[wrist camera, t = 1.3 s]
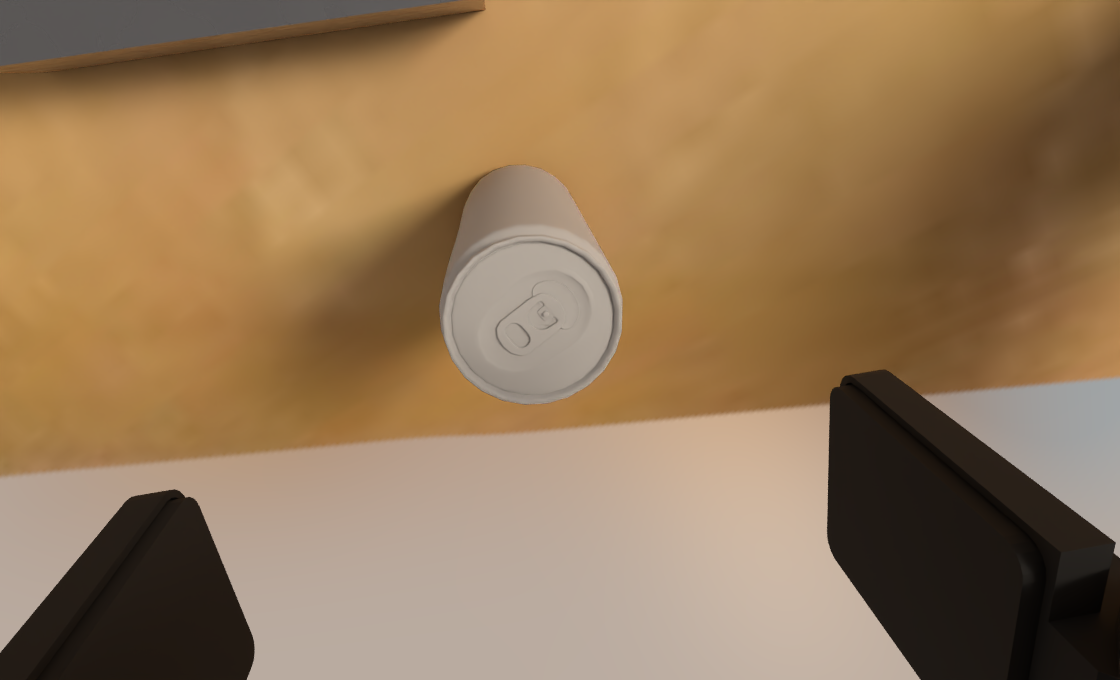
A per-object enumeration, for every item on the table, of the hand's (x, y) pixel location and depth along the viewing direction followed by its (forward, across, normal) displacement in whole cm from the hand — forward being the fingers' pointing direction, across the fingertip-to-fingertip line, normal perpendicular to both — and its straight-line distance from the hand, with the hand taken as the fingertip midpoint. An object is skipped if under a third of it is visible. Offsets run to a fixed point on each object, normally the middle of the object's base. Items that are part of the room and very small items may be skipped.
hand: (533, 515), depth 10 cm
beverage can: (+20, -1, 0) cm, 20 cm away
